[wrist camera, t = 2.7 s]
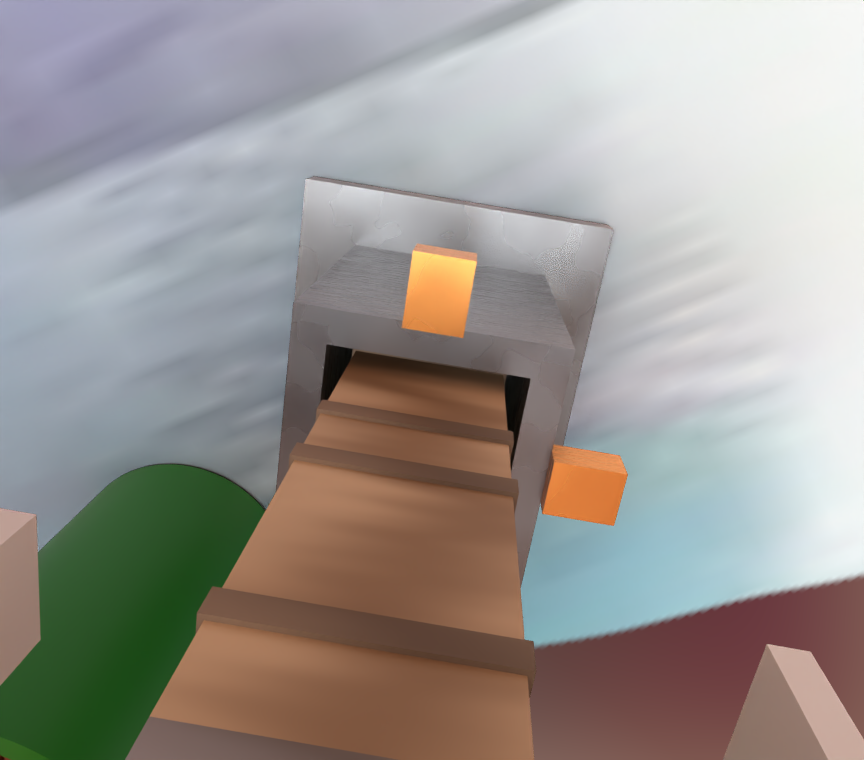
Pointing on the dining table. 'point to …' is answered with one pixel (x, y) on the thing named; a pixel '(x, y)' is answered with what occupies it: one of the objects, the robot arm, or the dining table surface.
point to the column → (370, 590)
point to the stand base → (457, 322)
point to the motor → (121, 610)
